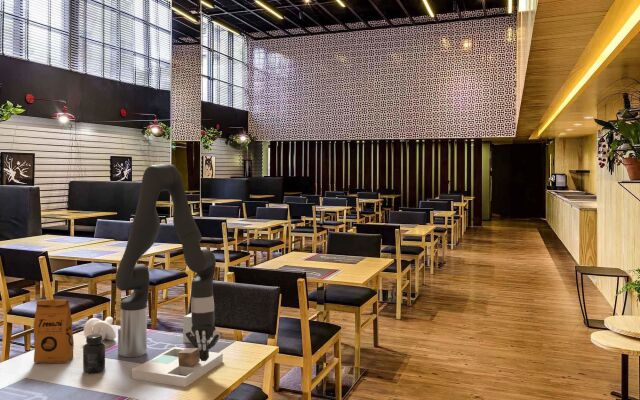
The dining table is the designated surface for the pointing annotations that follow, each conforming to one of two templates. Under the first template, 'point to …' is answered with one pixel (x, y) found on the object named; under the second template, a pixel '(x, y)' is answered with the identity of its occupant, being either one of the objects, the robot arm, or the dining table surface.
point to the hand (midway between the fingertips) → (204, 360)
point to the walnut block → (188, 357)
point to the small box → (186, 327)
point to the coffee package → (53, 332)
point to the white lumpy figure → (100, 328)
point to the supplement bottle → (94, 354)
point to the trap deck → (174, 368)
